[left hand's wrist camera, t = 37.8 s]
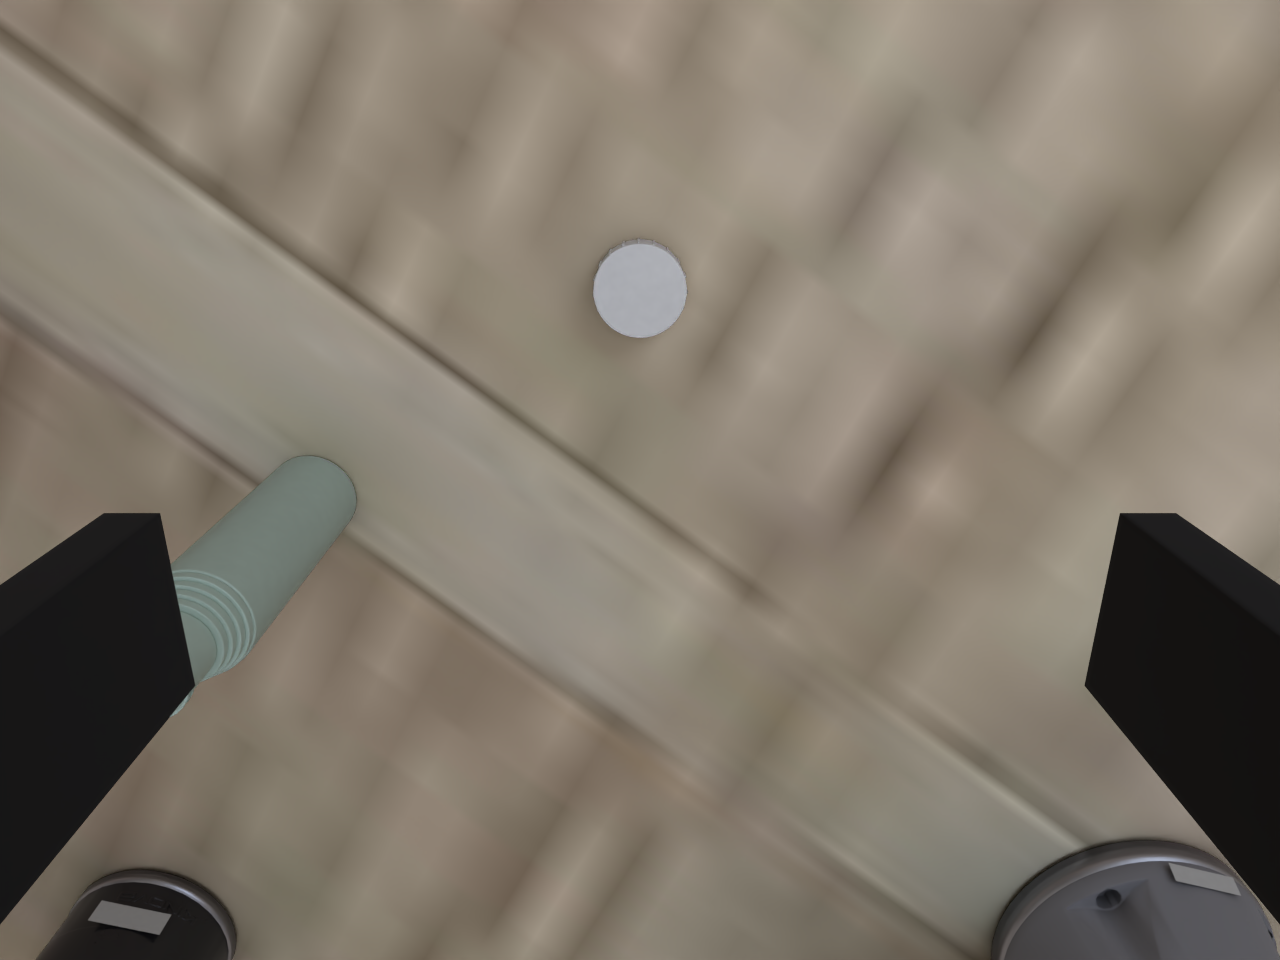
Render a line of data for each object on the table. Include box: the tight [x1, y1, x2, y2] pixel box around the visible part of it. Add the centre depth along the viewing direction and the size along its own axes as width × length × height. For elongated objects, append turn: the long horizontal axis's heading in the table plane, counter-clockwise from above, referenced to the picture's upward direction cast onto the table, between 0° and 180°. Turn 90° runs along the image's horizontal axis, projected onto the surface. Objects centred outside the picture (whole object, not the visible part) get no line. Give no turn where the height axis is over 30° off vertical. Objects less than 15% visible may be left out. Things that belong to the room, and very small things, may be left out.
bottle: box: [170, 456, 356, 717], centre depth 36 cm, size 4×4×16 cm
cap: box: [593, 238, 688, 338], centre depth 39 cm, size 4×4×2 cm
